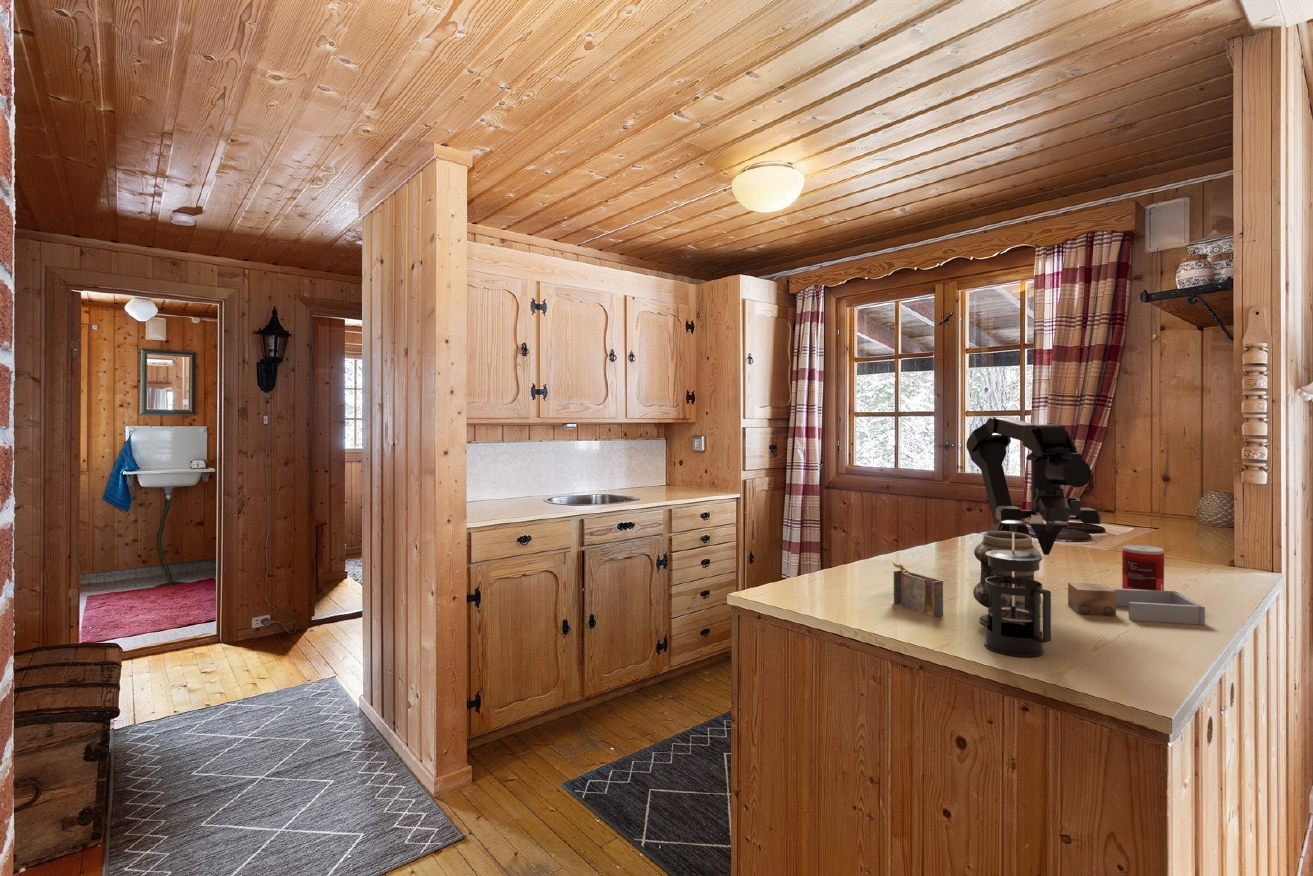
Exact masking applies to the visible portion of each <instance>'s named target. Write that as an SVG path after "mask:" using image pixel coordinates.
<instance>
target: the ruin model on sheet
mask: <svg viewBox="0 0 1313 876" xmlns="http://www.w3.org/2000/svg"><path fill="white" fill-rule="evenodd" d="M892 565H893V566H894V567H895V568H897V570H894V571H893V604H898V603H899V604H900V606H902V607H903V608H904V607H905V608H908V609H910V610H913V609H914V611H916V612H919V613H922V614H924V615H927V614H928V616H930V617H933V618H935V617H939V616H944V580H941V579H938V578H934V577H931V576H927V575H923V574H919V573H916V572H912V571H909V570H907V569H906V567H904V565H903V564H901V563H899V564H897V563H894V562H893V563H892Z"/></svg>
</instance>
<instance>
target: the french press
mask: <svg viewBox="0 0 1313 876" xmlns="http://www.w3.org/2000/svg"><path fill="white" fill-rule="evenodd" d="M1000 523H1001V524H1006V525H1010V532H1012V550H993V551H988V552H986V553H985V555H986V556H987V557H988V565H989V566H990V567H992V568H995V569H999V570H1005V571H1012V576H993V577H988V578H986V579H985V587H986V588H987V589H988V608H987V609H986V610H987V614H988V624H987V625H985V640H984V641H983V645H984V647H985V648H986V649H987V650H989V651H991V652H994V653H996V654H1000V655H1003V656H1007V657H1014V658H1022V659H1023V658H1038V657H1041V656H1042V655H1044V653H1045V649H1044V647H1043V644H1046V643H1049V642H1051V640H1052V593H1051V591H1050V590H1048V589H1045V588H1044V589H1043V583H1041V582H1040V581H1038V580H1036V579H1034V580H1031V579H1027V578H1021V577H1014V572H1034V573H1035V572H1037V571H1039V570H1040V562H1041V561H1043V556H1042V555H1041V556H1040V555H1038V554H1034V553H1030V552H1023V551H1014V532H1016V525H1026V526H1027V525H1028V524H1027V523H1025V522H1024V521H1022V520H1020V521H1017V520H1004V521H1001V522H1000ZM1039 561H1040V562H1039ZM995 583H1010V584H1012V588H1011V587H1004V586H999V585H995ZM1014 584H1020V585H1025V588H1014ZM1002 594H1007V595H1012V606H1011V607H1009V606H1002ZM1014 595H1015V596H1025V609H1024V608H1018V607H1015V596H1014ZM1040 595H1042V631H1041V604H1040ZM1002 621H1007V622H1002ZM1009 622H1015V623H1009ZM1017 623H1025V625H1023V624H1017Z"/></svg>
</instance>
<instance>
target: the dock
mask: <svg viewBox="0 0 1313 876" xmlns="http://www.w3.org/2000/svg"><path fill="white" fill-rule="evenodd" d="M1111 588H1112V589H1113V590H1115V591H1116V607H1117V606H1120V607H1128V620H1129V621H1132V622H1134V621H1138V622H1150V623H1151V622H1152V623H1153V622H1154V623H1168V624H1169V623H1170V624H1183V625H1184V624H1185V625H1186V624H1187V625H1199V626H1201V625H1203V626H1206V606H1204V605H1202V604H1200V603H1198V602H1196V601H1194V600H1192V599H1191V598H1189V597H1186V596H1185V595H1183V594H1181V593H1179V592H1178V591H1174V590H1173V591H1172V590H1164V591H1158V590H1137V589H1122V588H1116V587H1115V588H1114V587H1111Z"/></svg>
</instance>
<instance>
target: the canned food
mask: <svg viewBox="0 0 1313 876" xmlns="http://www.w3.org/2000/svg"><path fill="white" fill-rule="evenodd" d="M1121 552H1122V553H1121V564H1122V565H1121V573H1122V574H1121V576H1122V577H1121V579H1122V582H1121V586H1122V587H1121V589H1137V590H1158V591H1165V550H1164V549H1163V548H1161V547H1156V546H1153V545H1143V544H1126V545H1123V546H1122V549H1121Z"/></svg>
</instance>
